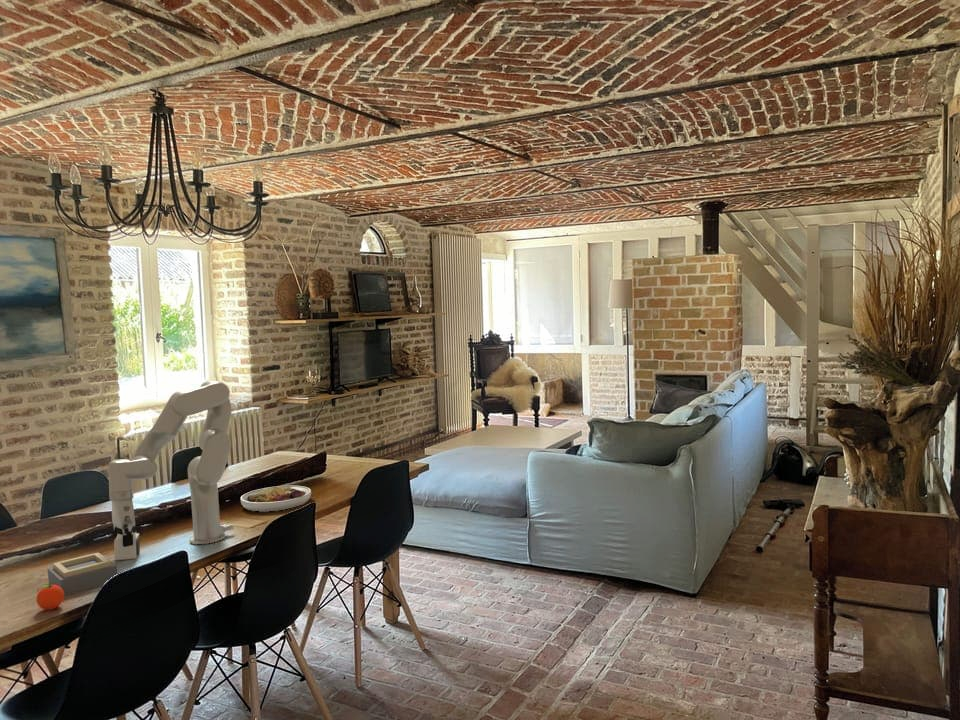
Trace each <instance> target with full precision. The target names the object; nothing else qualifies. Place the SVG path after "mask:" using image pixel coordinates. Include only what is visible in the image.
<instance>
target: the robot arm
mask: <svg viewBox="0 0 960 720" xmlns="http://www.w3.org/2000/svg"><path fill="white" fill-rule="evenodd" d="M231 403H232V402H231V399H230V389H229V387H228V385H227V384H225V383H224V382H222V381H217V380H206V381H204V382H202V384H201V385H200V387H199V388H196V389H193V390H192V389H191V390H188V391H184V390H181V391H175V392H174V393H172V395H171V396H169V399H168V400H167V402H166V404H165V405H164V407H163V409H162V410H161V412H160V414H159V416H158V417H157V419H156V421H155V423H154V424H153V426H152V427H151V429H150V430H149V431H148V432H147V434H146V435H145V436H144V438H143V439H142V441H141V442H140V443H139V445H138V447H137V449H136V450H135V452H134V454H133V455H132V457H131V459H127V458H122V459H114V460H113V459H112V460H111V461H110V462H108V466H107V468H108V469H107V471H108V491H109V492H108V493H109V494H108V495H109V501H110V502H111V521H112V525H113V541H114V540H115V539H116V537H117V527H118V528H120V529H122V531H123V535H122V536H123V547H127V546H131V545H133V531H132V530H133V528H132V527H134V526H135V523H136V519H135V509H134V507H135V506H134V503H133V499H134V480H148V479H151V478H153V477H155V475H156V473H157V472H158V465H157V462H156V461H155V460H156V459H157V457H158V455H159V454H160V452H161V450H162V449H164V447H165V446H166V445H167V444H168V443H170V442H171V441H173V440H174V439H175V438H177V436H178V434H179V432H180V430H181V428H182V426H183V425H184V423H185V421H186V420H187V419H188V417H189V416H193V415H196V414H200V413H202V412H205V411H206V412H207V414H206V418H205V422H204V425H203V427H202V431H201V433H200V435H199V439H198V446H199V448H200V450H202V452H201V455H199V456H196V457H194V458H193V459H192V460H191V461H190V462H189V463H188V466H187V478H188V483H189V490H190V503H191V514H192V515H191V516H192V519H191V520H192V530H193V531H192V533H193V536H191V537H190V538H189V543H190V544H191V543H192V545H197V544H202V545H210V544H213V543H214V542H215V543H218V542H220V541H219V540H221V541H223V540H224V539H225V538H226V533H225V532H227V531H233V530H234V525H233V524H223V525H222V524H221V517H220V515H221V514H220V504H219V501H220V500H219V489H218V483H219V481H220V480H221V479H222V477H223V475H224V472H225V468H226V465H227V463H228V461H229V460H228V459H229V456H230V454H231V449H232V439H231V437H230V436H229V434H228V430H229V425H230V422H231V419H232V410H233V409H232V404H231ZM125 529H126V531H125ZM222 539H223V540H222ZM217 541H218V542H217ZM209 543H210V544H209Z"/></svg>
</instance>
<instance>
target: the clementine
mask: <svg viewBox="0 0 960 720" xmlns="http://www.w3.org/2000/svg"><path fill="white" fill-rule="evenodd" d="M35 593H36V594H37V595H36V604H37V606H39V608H41V609H43V610H46V611H49V610H50V609H51V610H54V609H56V608H58V607H59V606H60V605H61V604H62V603H63V601H64V598H65V596H64V591H63V590H62V588H61V587H59V586H57V585H50V584H46V585H43V586H42V587H39V588H38V589H37V591H36V592H35Z"/></svg>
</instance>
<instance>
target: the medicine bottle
mask: <svg viewBox="0 0 960 720" xmlns="http://www.w3.org/2000/svg"><path fill="white" fill-rule="evenodd" d="M132 528H133V530H132V531H133V545H131V546H127V547H123V536H122V535H123V531H122V529H120V528H118V527H117V537H116V539H115V540H114V539H113V546H114V548H113V549H114V551H113V552H114V561H123V560H124V561H125V560H132V559H135V560H137V558H138V556H139V554H140V552H141V547H140V546H141V545H140V544H141V543H140V541H141V539H140V533H139V532H138V533H137V523H136V522H135V526H134V527H132ZM125 531H126V529H125Z"/></svg>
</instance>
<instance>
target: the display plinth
mask: <svg viewBox="0 0 960 720" xmlns="http://www.w3.org/2000/svg"><path fill="white" fill-rule="evenodd" d="M46 570H47V578H48V579H47V581H48V585H57V586H59V587H61V588H62V590H63V591H64V595H65V596H68V595H71V594H70V593H72V594H75V593H74V592H76V593H79V592H82V590H83V591H86V590H89V589H94V588H97V587H100V586H101V587H102V586H104V585H103V584H104V583H105V582H106V581H107V580H109V579H110V578H111V577H113V576H114V575H116V574H118V565H117V564H116V563H114V562H113V561H112V560H110V559H109V558H108V557H106V556H104V555H103V554H101V553H100V552H95V553H91V554H85V555H82V556H78V557H75V558H70V559H66V560H65V559H64V560H61V561H58V562H54V563H52V567H51V566H50V567H47V569H46ZM118 575H119V574H118ZM78 591H79V592H78ZM67 594H68V595H67Z"/></svg>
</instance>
